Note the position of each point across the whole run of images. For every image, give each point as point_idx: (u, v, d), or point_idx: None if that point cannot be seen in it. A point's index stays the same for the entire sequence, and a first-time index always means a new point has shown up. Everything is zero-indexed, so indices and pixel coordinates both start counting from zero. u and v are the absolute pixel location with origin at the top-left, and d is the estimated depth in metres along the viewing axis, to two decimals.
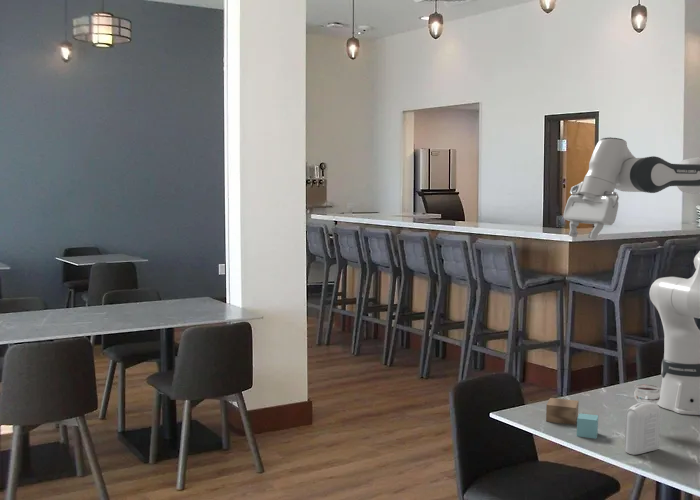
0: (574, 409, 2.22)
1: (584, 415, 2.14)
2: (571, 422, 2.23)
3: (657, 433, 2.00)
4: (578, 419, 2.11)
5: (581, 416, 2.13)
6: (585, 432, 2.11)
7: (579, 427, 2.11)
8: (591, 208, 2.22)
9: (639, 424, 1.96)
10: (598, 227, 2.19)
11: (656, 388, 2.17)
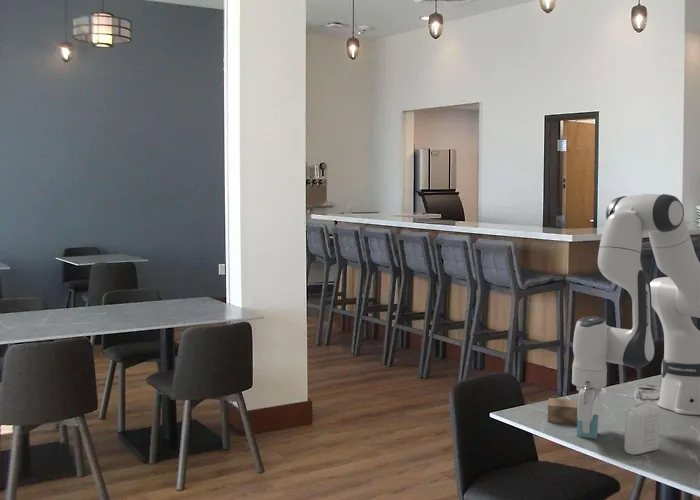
0: (576, 409, 2.22)
1: None
2: (573, 422, 2.23)
3: (657, 433, 2.00)
4: None
5: None
6: None
7: (579, 427, 2.11)
8: None
9: (639, 424, 1.96)
10: (585, 421, 2.08)
11: (656, 388, 2.17)
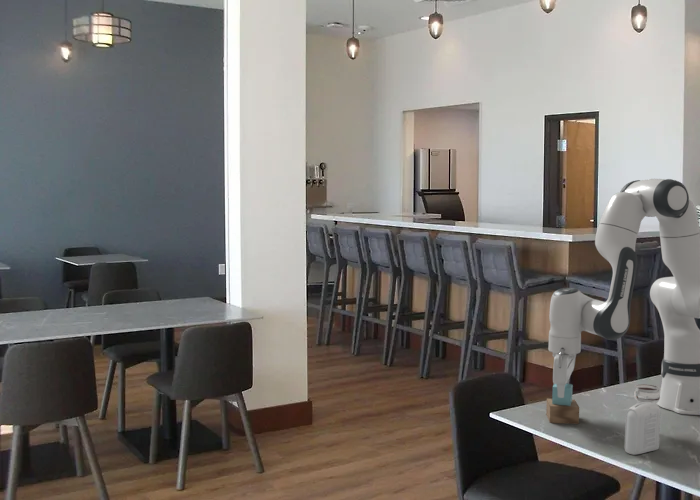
0: (578, 408, 2.23)
1: None
2: (575, 422, 2.23)
3: (657, 433, 2.00)
4: (553, 387, 2.25)
5: (556, 385, 2.27)
6: (560, 399, 2.25)
7: (554, 395, 2.25)
8: None
9: (639, 424, 1.96)
10: (559, 386, 2.21)
11: (656, 388, 2.17)
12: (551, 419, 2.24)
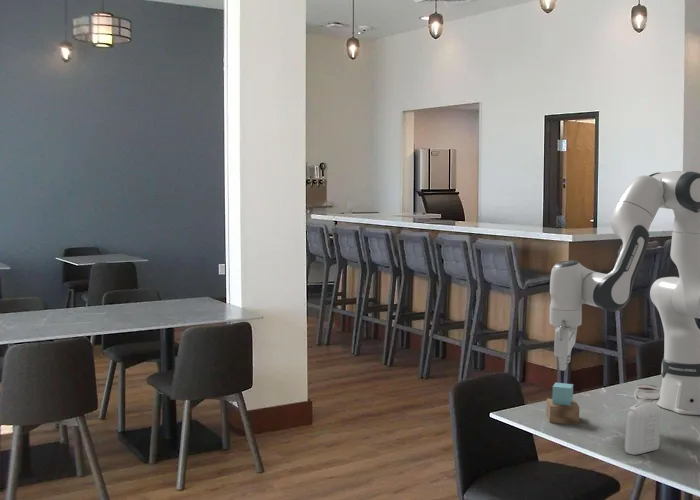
0: (578, 408, 2.23)
1: (560, 384, 2.28)
2: (575, 422, 2.23)
3: (657, 433, 2.00)
4: (553, 387, 2.25)
5: (556, 385, 2.27)
6: (560, 399, 2.25)
7: (555, 395, 2.25)
8: None
9: (639, 424, 1.96)
10: (561, 359, 2.20)
11: (656, 388, 2.17)
12: (551, 419, 2.24)
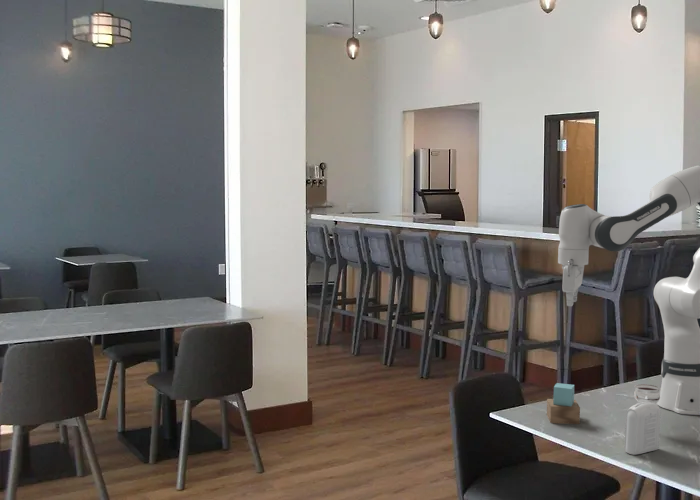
0: (578, 409, 2.22)
1: (561, 384, 2.27)
2: (575, 422, 2.23)
3: (657, 433, 2.00)
4: (554, 388, 2.25)
5: (557, 385, 2.27)
6: (561, 399, 2.24)
7: (556, 395, 2.25)
8: None
9: (639, 424, 1.96)
10: (568, 295, 2.33)
11: (656, 388, 2.17)
12: (552, 419, 2.23)
